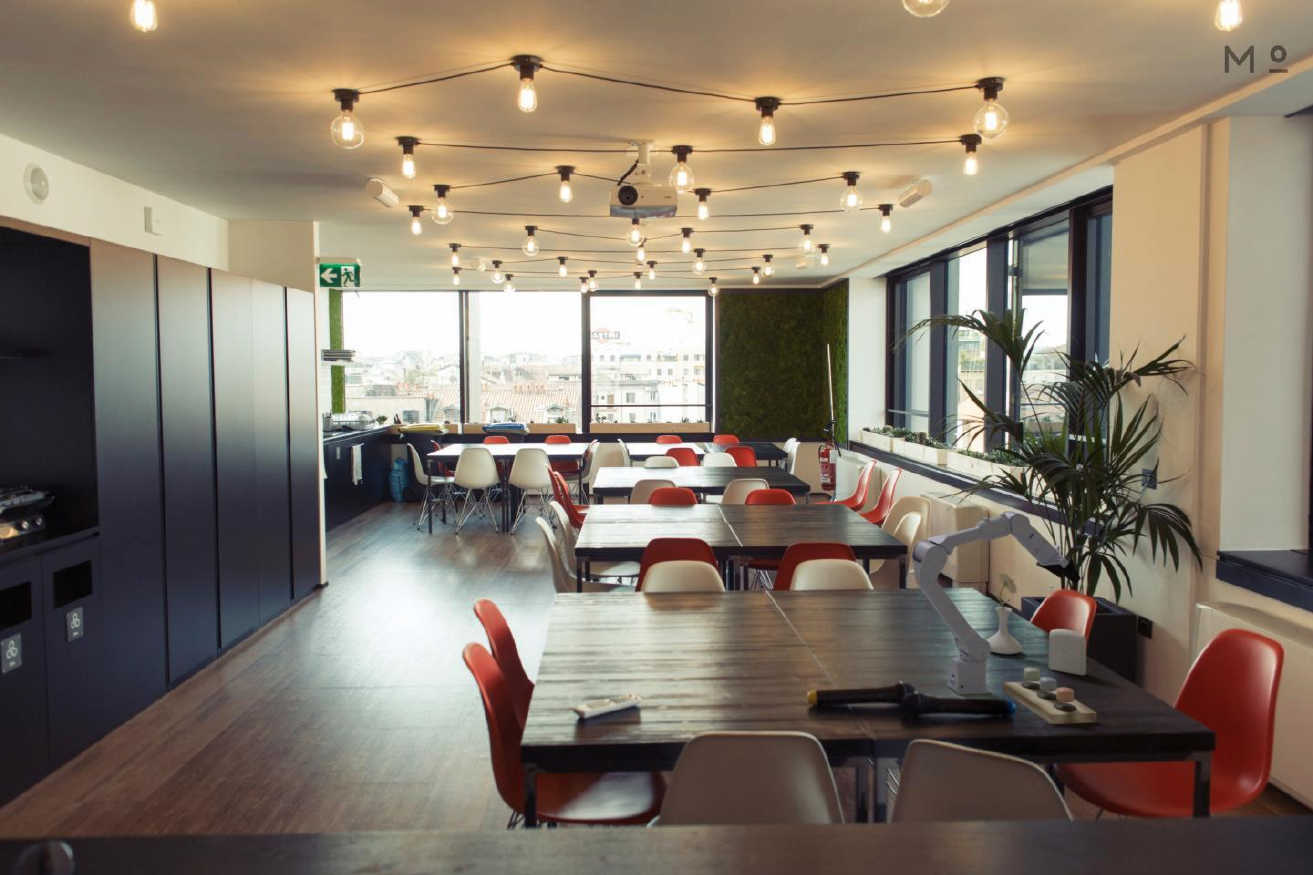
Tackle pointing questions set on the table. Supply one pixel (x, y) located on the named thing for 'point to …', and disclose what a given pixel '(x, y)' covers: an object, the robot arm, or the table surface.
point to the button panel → (1048, 703)
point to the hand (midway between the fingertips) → (1069, 577)
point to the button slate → (1047, 684)
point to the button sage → (1032, 674)
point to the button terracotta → (1065, 694)
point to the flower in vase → (1004, 623)
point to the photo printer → (1067, 651)
